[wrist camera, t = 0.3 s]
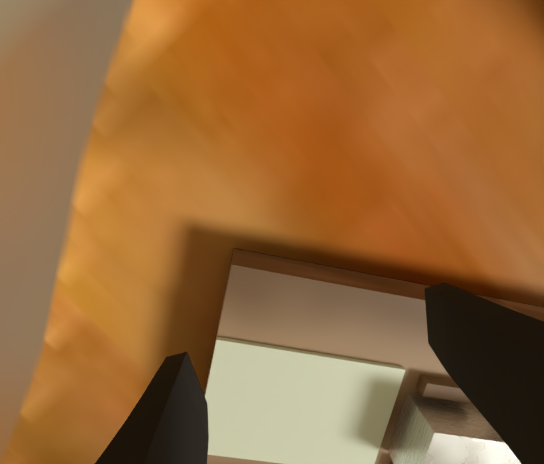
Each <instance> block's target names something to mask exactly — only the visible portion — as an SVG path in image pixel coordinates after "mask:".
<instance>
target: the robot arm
mask: <svg viewBox="0 0 544 464" xmlns="http://www.w3.org/2000/svg"><path fill="white" fill-rule="evenodd" d="M424 289H425V304H426V318H427V333H428V343H429V345H430V347H431V348H432V350H433V351H434V353H435V355H436V356H437V358H438V359H439V361H440V362H441V364H442V365H443V367H444V369H445V370H446V372H447V373H448V374H449V375H450V377H451V378H452V379H453V380H454V382H455V383H456V384H457V385H458V387H459V388H460V389H461V390H462V391H463V393H464V394H465V395H466V396H467V398H468V399H469V400H470V401H471V402H472V403H473V405H474V406H475V407H476V408H477V409H478V411H479V412H480V413H481V414H482V415H483V417H484V418H485V419H486V420H487V421H488V423H489V424H490V425H491V426H492V427H493V429H494V430H495V431H496V432H497V433H498V435H499V436H500V437H501V438H502V439H503V441H504V442H505V443H506V444H507V446H508V447H509V448H510V450H511V451H512V452H513V453H514V455H515V456H516V457H517V459H518V460H519V461H520V463H521V464H544V321H541V320H539V319H536V318H533V317H530V316H528V315H525V314H522V313H520V312H517V311H514V310H512V309H509V308H507V307H504V306H502V305H499V304H497V303H494V302H492V301H489V300H487V299H484V298H482V297H479V296H477V295H474V294H472V293H469V292H467V291H464V290H462V289H459V288H457V287H454V286H451V285H448V284H445V283H442V284H439V285H435V286H431V287H427V288H424ZM208 442H209V432H208V406H207V401H206V399H205V396H204V393H203V391H202V388H201V386H200V383H199V381H198V378H197V376H196V373H195V371H194V368H193V365H192V363H191V360H190V358H189V355H188V353H187V352H184V353H180V354H177V355H173V356H169V357H166V359H165V360H164V362H163V363H162V365H161V367H160V368H159V370H158V371H157V373H156V374H155V376H154V378H153V379H152V381H151V382H150V384H149V386H148V387H147V389H146V390H145V392H144V394H143V395H142V397H141V398H140V400H139V401H138V403H137V404H136V406H135V408H134V409H133V411H132V412H131V414H130V415H129V417H128V418H127V420H126V421H125V423H124V424H123V426H122V427H121V428H120V430H119V431H118V433H117V434H116V435H115V437H114V438H113V440H112V441H111V442H110V444H109V445H108V447H107V448H106V449H105V451H104V452H103V454H102V455H101V456H100V458H99V459H98V460H97V462H96V463H95V464H207V456H208Z"/></svg>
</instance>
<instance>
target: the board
mask: <svg viewBox="0 0 544 464" xmlns="http://www.w3.org/2000/svg"><path fill="white" fill-rule="evenodd" d="M427 287H431V286H429V285H424V284H418V283H413V282H408V281H403V280H397V279H392V278H387V277H382V276H376V275H371V274H366V273H361V272H355V271H350V270H345V269H340V268H334V267H329V266H324V265H319V264H313V263H308V262H303V261H298V260H292V259H287V258H282V257H277V256H271V255H266V254H261V253H256V252H250V251H245V250H240V249H235V248H234V249H233V254H232V259H231V264H230V269H229V274H228V279H227V284H226V289H225V293H224V298H223V303H222V308H221V313H220V318H219V323H218V328H217V333H216V338H215V343H214V348H213V353H212V358H211V362H210V367H209V372H208V377H207V382H206V387H205V392H204V396H205V393H206V388H207V383H208V378H209V373H210V369H211V364H212V359H213V354H214V349H215V344H216V339H217V337H222V338H229V339H235V340H241V341H247V342H254V343H260V344H266V345H272V346H279V347H285V348H291V349H297V350H303V351H310V352H316V353H322V354H328V355H335V356H341V357H347V358H353V359H359V360H366V361H372V362H378V363H384V364H391V365H397V366H403V367H404V368H405V369H406V370H405V373H404V376H403V380H402V383H401V386H400V389H399V392H398V395H397V398H396V401H395V404H394V407H393V410H392V413H391V416H390V419H389V422H388V425H387V428H386V431H385V434H384V437H383V440H382V443H381V446H380V449H379V452H378V455H377V458H376V461H375V464H393V461H392V459H391V457H390V455H389V453H388V451H387V450H388V447H389V444H390V441H391V438H392V435H393V432H394V429H395V426H396V423H397V421H398V418H399V415H400V412H401V409H402V406H403V403H404V400H405V397H406V394H407V392H412V393H419V394H422V396H425V397H432V398H438V399H445V400H452V401H458V402H465V403H471V404H473V403H472V402H471V401H470V400H469V399H468V398H467V396H466V395H465V394H464V393H463V391H462V390H461V389H460V388H459V387H458V385H457V384H456V383H455V382H454V380H453V379H452V378H451V377H450V375H449V374H448V373H447V372H446V370H445V369H444V367H443V365H442V364H441V362H440V361H439V359H438V358H437V356H436V355H435V353H434V351H433V350H432V348H431V347H430V345H429V343H428V333H427V318H426V304H425V289H424V288H427ZM474 295H476V294H474ZM477 296H479V297H482V298H484V299H487V300H489V301H492V302H494V303H497V304H499V305H502V306H504V307H507V308H509V309H512V310H514V311H517V312H520V313H522V314H525V315H528V316H530V317H533V318H536V319H539V320H541V321H544V307H539V306H534V305H529V304H523V303H518V302H513V301H508V300H502V299H497V298H492V297H487V296H481V295H477ZM207 464H281V463H273V462H265V461H256V460H248V459H240V458H232V457H223V456H215V455H208V456H207Z"/></svg>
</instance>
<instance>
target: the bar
mask: <svg viewBox="0 0 544 464" xmlns="http://www.w3.org/2000/svg"><path fill="white" fill-rule="evenodd" d="M387 451H388V453H389V455H390V457H391V459H392V461H393V464H521V463H520V461H519V460H518V459H517V457H516V456H515V455H514V453H513V452H512V451H511V450H510V448H509V447H508V446H507V444H506V443H505V442H504V441H503V439H502V438H501V437H500V436H499V435H498V433H497V432H496V431H495V430H494V429H493V427H492V426H491V425H490V424H489V423H488V421H487V420H486V419H485V418H484V417H483V415H482V414H481V413H480V412H479V411H478V409H477V408H476V407H475V406H474V405H473V404H471V403H465V402H458V401H452V400H445V399H438V398H432V397H425V396H422V394H419V393H412V392H407V394H406V397H405V400H404V403H403V406H402V409H401V412H400V415H399V418H398V421H397V423H396V426H395V429H394V432H393V435H392V438H391V441H390V444H389V447H388V450H387Z"/></svg>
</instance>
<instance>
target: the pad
mask: <svg viewBox="0 0 544 464" xmlns="http://www.w3.org/2000/svg"><path fill="white" fill-rule="evenodd" d="M405 370H406V369H405V368H404V367H403V366H397V365H391V364H384V363H378V362H372V361H366V360H359V359H353V358H347V357H341V356H335V355H328V354H322V353H316V352H310V351H303V350H297V349H291V348H285V347H279V346H272V345H266V344H260V343H254V342H247V341H241V340H235V339H229V338H222V337H217V339H216V344H215V349H214V354H213V359H212V364H211V369H210V373H209V378H208V383H207V388H206V393H205V399H206V401H207V406H208V432H209V442H208V455H215V456H223V457H232V458H240V459H248V460H256V461H265V462H273V463H281V464H375V461H376V458H377V455H378V452H379V449H380V446H381V443H382V440H383V437H384V434H385V431H386V428H387V425H388V422H389V419H390V416H391V413H392V410H393V407H394V404H395V401H396V398H397V395H398V392H399V389H400V386H401V383H402V380H403V376H404V373H405Z"/></svg>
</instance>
